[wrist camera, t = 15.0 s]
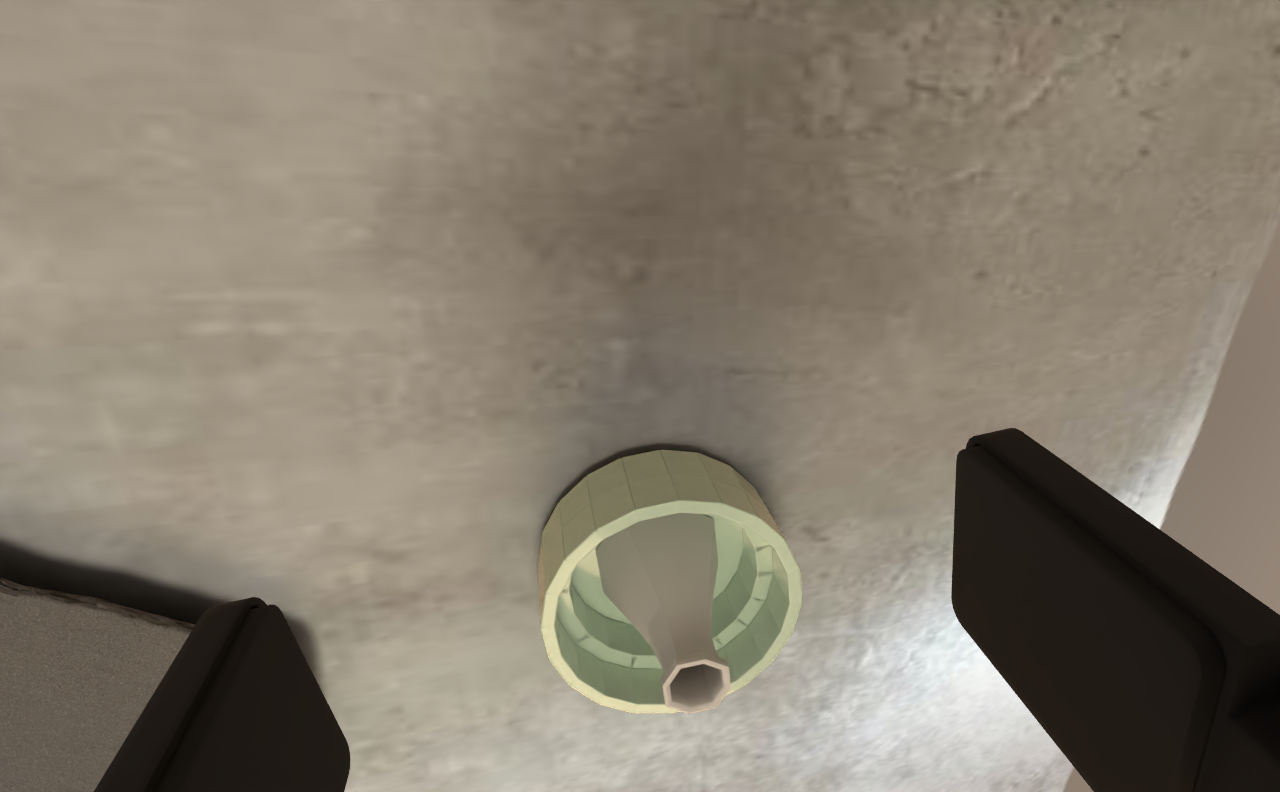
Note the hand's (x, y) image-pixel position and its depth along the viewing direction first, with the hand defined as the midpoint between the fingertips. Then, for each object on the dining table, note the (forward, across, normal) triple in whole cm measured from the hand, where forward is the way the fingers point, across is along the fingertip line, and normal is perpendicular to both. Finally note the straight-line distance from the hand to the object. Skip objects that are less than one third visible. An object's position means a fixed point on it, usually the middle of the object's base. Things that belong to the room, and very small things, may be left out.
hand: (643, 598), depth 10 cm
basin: (+26, -2, +19) cm, 32 cm away
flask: (+25, -2, +19) cm, 31 cm away
